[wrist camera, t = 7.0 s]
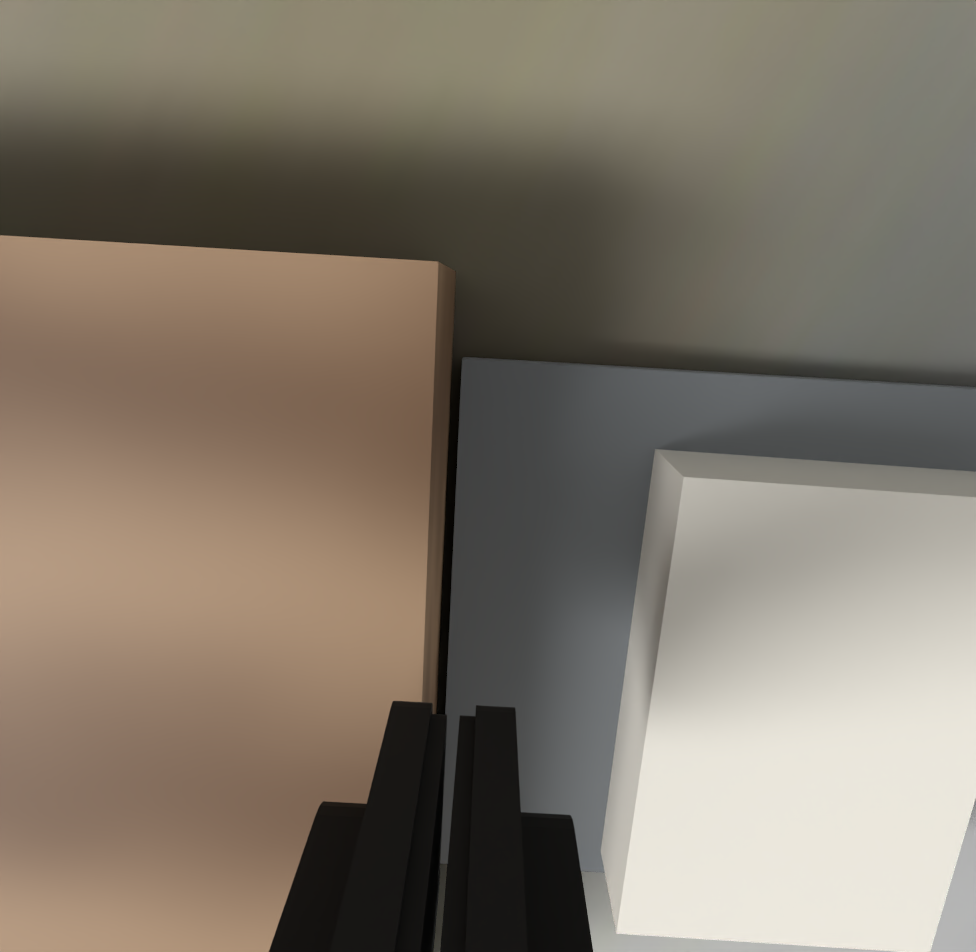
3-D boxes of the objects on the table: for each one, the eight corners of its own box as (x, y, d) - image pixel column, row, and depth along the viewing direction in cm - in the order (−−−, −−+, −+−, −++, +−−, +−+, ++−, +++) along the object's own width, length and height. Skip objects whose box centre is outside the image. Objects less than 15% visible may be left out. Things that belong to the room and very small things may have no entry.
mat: (462, 356, 13) (462, 358, 12) (1044, 390, 13) (1061, 394, 12) (439, 849, 16) (437, 863, 15) (916, 875, 16) (926, 890, 15)
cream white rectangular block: (1063, 503, 11) (977, 471, 13) (683, 477, 11) (655, 448, 13) (929, 953, 13) (873, 868, 15) (616, 933, 13) (600, 851, 15)
